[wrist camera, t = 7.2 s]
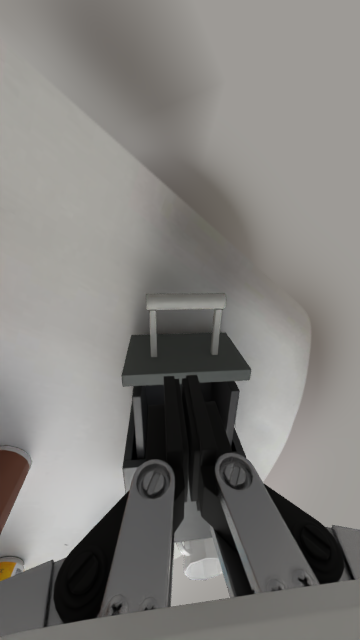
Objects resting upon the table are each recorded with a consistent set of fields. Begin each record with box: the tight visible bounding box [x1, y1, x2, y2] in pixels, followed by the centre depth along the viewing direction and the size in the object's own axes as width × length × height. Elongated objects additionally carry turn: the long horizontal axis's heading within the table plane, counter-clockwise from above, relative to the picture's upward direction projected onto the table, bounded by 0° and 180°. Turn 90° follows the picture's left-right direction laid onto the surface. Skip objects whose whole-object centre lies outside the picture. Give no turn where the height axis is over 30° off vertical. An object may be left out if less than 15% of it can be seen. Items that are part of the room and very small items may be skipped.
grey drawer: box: [122, 293, 251, 460], centre depth 24 cm, size 20×11×8 cm, turn 179°
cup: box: [176, 538, 223, 580], centre depth 37 cm, size 7×10×8 cm
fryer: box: [123, 401, 246, 543], centre depth 29 cm, size 15×13×10 cm
